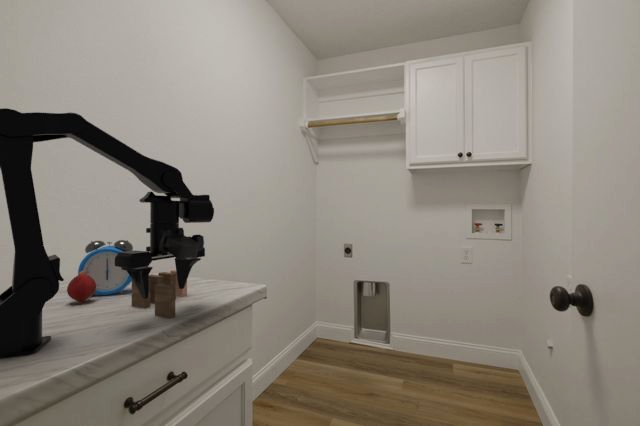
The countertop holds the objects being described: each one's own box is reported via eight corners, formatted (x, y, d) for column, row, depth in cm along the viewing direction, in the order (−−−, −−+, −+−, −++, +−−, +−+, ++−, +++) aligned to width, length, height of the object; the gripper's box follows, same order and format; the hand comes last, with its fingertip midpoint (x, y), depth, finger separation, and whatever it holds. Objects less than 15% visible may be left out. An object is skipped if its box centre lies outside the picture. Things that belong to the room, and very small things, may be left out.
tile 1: (169, 318, 67) (169, 287, 67) (154, 315, 69) (154, 285, 69) (175, 316, 68) (175, 286, 68) (161, 313, 70) (161, 283, 70)
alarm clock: (77, 298, 82) (77, 242, 82) (85, 292, 88) (86, 239, 88) (133, 294, 86) (133, 240, 86) (138, 288, 92) (138, 238, 92)
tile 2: (144, 308, 74) (144, 280, 74) (131, 306, 76) (131, 278, 76) (150, 306, 75) (150, 279, 75) (137, 304, 77) (137, 277, 77)
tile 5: (182, 296, 84) (182, 272, 84) (170, 294, 86) (170, 270, 86) (186, 295, 85) (187, 271, 85) (175, 293, 87) (175, 269, 87)
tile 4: (170, 300, 80) (170, 274, 80) (158, 298, 82) (158, 273, 82) (175, 298, 82) (175, 273, 82) (163, 296, 84) (163, 272, 84)
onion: (80, 306, 75) (80, 273, 75) (60, 305, 76) (61, 272, 76) (101, 300, 80) (101, 269, 80) (83, 298, 82) (83, 268, 82)
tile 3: (157, 304, 77) (158, 277, 77) (145, 302, 79) (145, 275, 79) (163, 302, 79) (163, 276, 79) (151, 300, 80) (151, 274, 80)
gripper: (151, 226, 57) (150, 310, 57) (222, 223, 74) (222, 288, 74) (113, 224, 61) (112, 302, 61) (188, 222, 78) (188, 283, 78)
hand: (164, 293), depth 69 cm, fingers open, 9 cm apart
